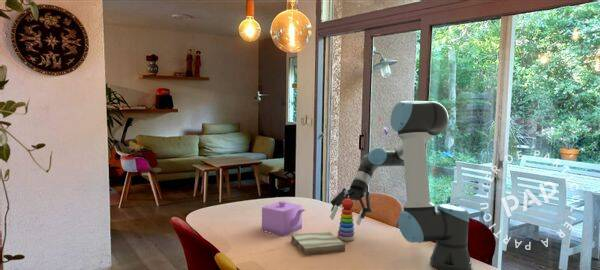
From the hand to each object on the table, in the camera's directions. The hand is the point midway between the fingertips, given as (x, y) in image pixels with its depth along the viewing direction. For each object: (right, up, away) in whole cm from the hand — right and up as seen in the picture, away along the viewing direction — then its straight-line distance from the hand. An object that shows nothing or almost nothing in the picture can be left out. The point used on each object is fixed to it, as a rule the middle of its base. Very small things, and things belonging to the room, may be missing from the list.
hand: (344, 221), depth 194 cm
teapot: (-28, -8, +14) cm, 32 cm away
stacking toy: (+1, -9, +2) cm, 9 cm away
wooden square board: (-12, -9, -8) cm, 17 cm away
